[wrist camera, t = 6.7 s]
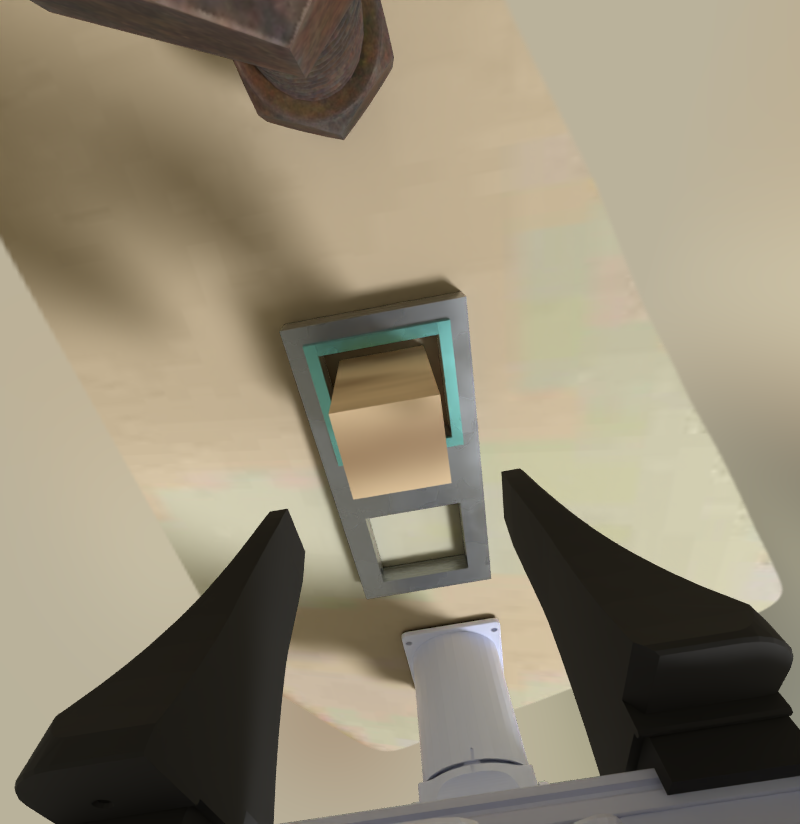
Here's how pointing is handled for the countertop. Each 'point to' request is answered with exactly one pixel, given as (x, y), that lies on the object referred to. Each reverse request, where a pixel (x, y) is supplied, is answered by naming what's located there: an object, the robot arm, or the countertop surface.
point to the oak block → (389, 423)
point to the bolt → (271, 49)
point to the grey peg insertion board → (462, 439)
